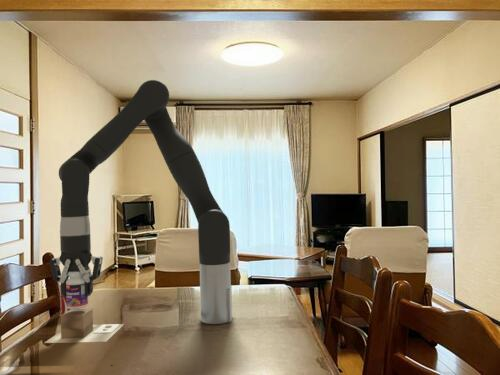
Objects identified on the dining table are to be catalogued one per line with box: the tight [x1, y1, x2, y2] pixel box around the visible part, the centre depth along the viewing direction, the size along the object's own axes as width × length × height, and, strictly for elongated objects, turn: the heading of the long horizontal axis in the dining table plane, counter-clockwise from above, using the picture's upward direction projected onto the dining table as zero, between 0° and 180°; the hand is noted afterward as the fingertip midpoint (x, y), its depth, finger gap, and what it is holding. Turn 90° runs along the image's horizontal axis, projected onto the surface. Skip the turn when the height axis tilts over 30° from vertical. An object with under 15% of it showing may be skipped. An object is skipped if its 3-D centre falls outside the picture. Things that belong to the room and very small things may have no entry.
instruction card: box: [93, 323, 121, 333], centre depth 115 cm, size 5×7×1 cm
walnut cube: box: [60, 308, 94, 339], centre depth 111 cm, size 6×6×6 cm
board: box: [44, 323, 125, 344], centre depth 112 cm, size 16×14×1 cm
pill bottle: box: [66, 271, 89, 309], centre depth 111 cm, size 5×5×10 cm
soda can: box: [59, 284, 71, 316], centre depth 130 cm, size 5×5×12 cm
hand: (77, 295), depth 111 cm, fingers closed on pill bottle, 5 cm apart
